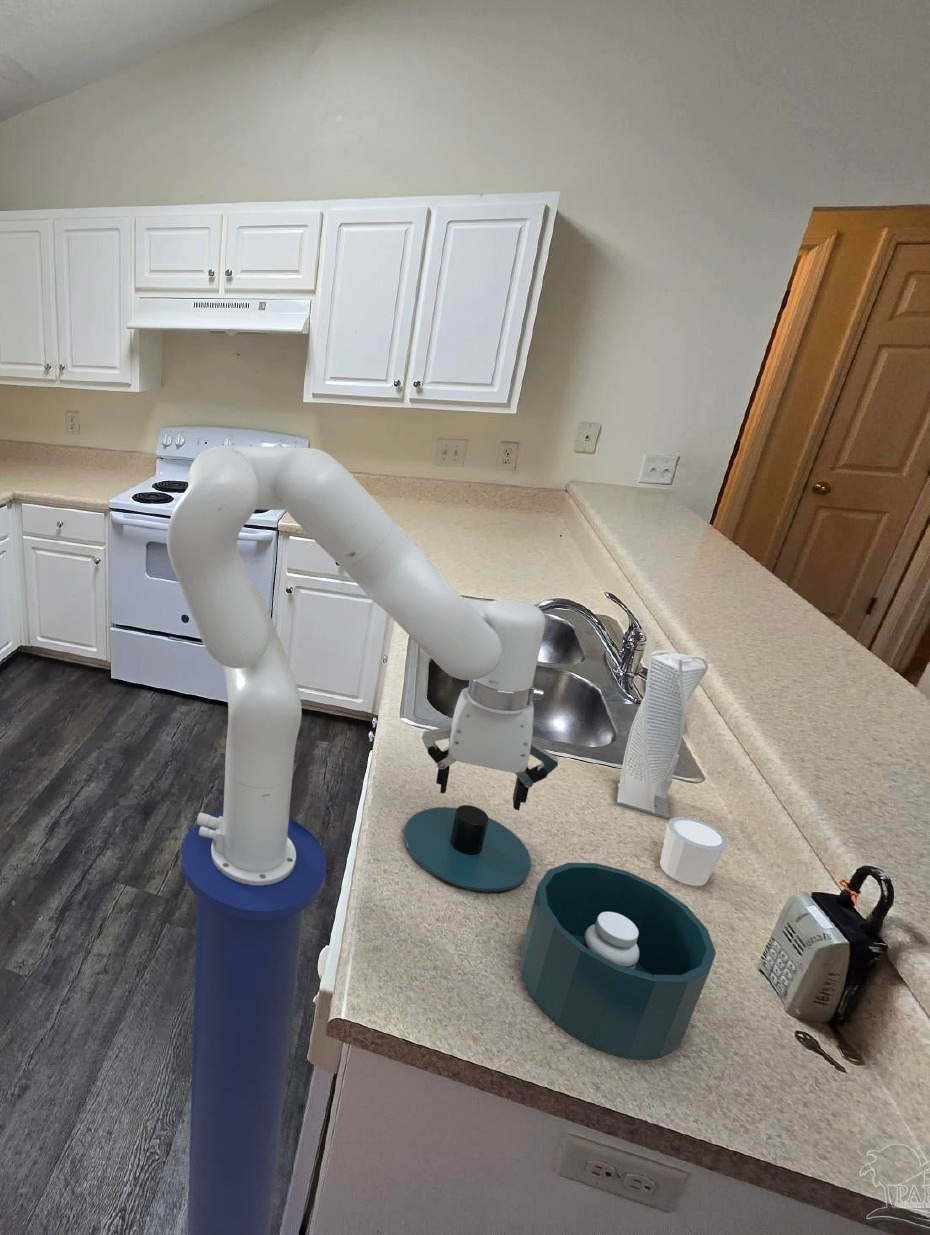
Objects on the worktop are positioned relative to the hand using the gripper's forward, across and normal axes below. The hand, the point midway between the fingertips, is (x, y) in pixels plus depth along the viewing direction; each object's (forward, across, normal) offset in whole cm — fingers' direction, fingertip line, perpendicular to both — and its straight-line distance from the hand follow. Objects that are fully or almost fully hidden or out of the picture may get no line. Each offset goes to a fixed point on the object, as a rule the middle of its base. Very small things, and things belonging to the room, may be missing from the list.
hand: (478, 795), depth 99 cm
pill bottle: (+10, -14, +19) cm, 26 cm away
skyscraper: (+11, -26, -24) cm, 36 cm away
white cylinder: (+11, -28, -8) cm, 31 cm away
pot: (+10, -14, +19) cm, 26 cm away
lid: (+9, 0, 0) cm, 9 cm away
